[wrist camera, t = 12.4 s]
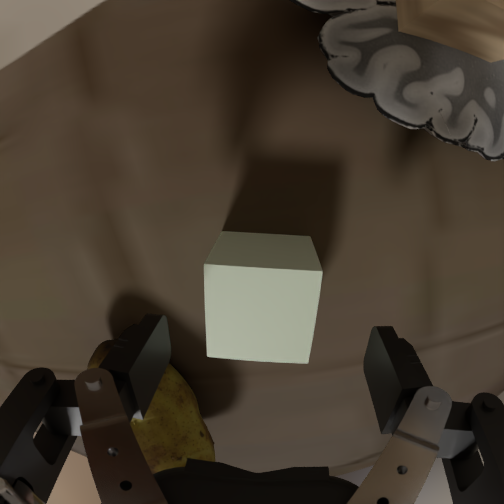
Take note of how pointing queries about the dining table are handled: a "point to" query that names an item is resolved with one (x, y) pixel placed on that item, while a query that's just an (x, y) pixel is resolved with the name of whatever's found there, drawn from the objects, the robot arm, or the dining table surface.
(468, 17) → the oak block
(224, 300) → the sage block
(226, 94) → the dining table surface
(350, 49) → the brain slice
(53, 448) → the robot arm
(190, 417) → the potato
